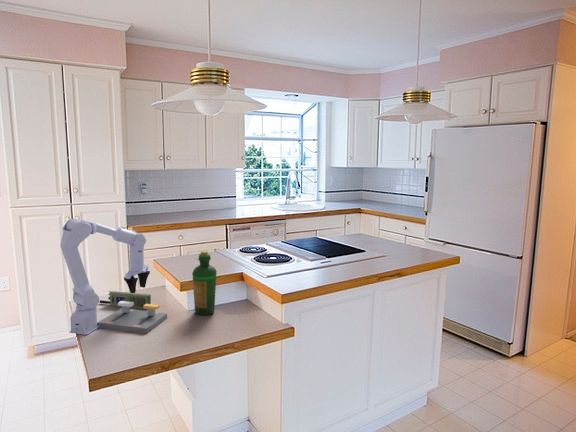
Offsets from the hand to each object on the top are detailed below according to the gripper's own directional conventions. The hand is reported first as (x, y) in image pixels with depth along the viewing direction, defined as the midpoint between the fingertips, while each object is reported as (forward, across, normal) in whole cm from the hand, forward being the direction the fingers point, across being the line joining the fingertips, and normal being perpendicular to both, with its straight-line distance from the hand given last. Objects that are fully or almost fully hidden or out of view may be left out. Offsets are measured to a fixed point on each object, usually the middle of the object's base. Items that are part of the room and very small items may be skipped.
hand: (137, 289), depth 176 cm
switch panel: (+10, -10, -4) cm, 15 cm away
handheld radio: (+11, +5, +10) cm, 16 cm away
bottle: (+11, +8, -28) cm, 31 cm away
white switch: (+8, -6, +2) cm, 10 cm away
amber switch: (+8, -6, -10) cm, 14 cm away
